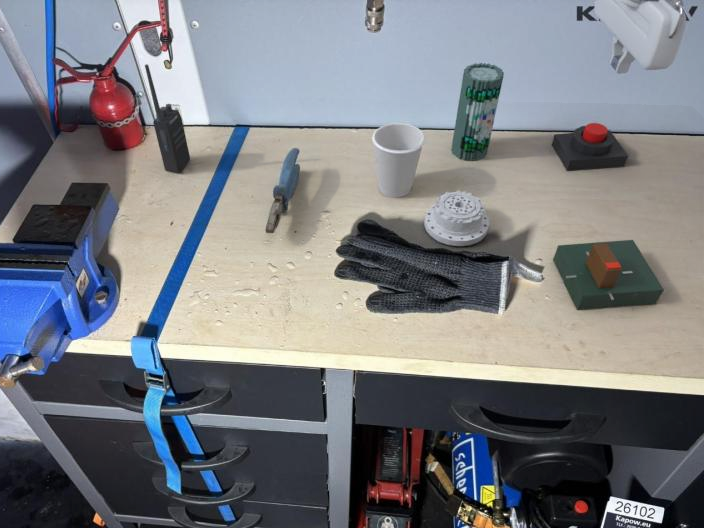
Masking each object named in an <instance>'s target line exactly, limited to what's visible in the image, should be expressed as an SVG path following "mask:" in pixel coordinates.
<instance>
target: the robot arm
mask: <svg viewBox="0 0 704 528" xmlns="http://www.w3.org/2000/svg"><path fill="white" fill-rule="evenodd" d="M594 14H595V16H596V17H597V18H598V19H599V20H600V22H601V23H602V24H603V25H604V26H605V27H606V28H607V30H609V32H610V33H611V34H612V35H613V37H612V40H611V41H612V45H611V46H612V47H611V58H610V61H609V65H610V66H611V68H612V69H613V70H614V71H615V72H616V73H617V74H618V75H620V74H626V73H628V72H629V70H630V67H631V65H632V63H633V62H634V61H636V62H637V63H638V65H640V66H641V68H643V69H644V70H645V71H657V70H665V69H668V68H669V67H671V66H672V65H673V63H674V62H675V59H676V57H677V54H678V51H679V48H680V46H681V42H682V39H683V36H684V34H685V33H684V32H685V30H686V24H687V16H686V13H685V11H684V1H683V0H595V1H594Z"/></svg>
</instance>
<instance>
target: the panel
mask: <svg viewBox="0 0 704 528" xmlns="http://www.w3.org/2000/svg"><path fill="white" fill-rule="evenodd" d="M598 244H608V246H609V247H610V249H611V251H612V253H613V254H614V256H615V258H616V260H617V261H618V262H619V264H620V266H621V268H622V271H621V273H620V275H619V277H618V279H617V281H616V283H615V285H614V287H612V288H599V287H598V285H597V283H596V282H595V280H594V278H593V276H592V274H591V272H590V270H589V268H588V266H587V264H586V261H587V258H588V256H589V254H590V251H591V249H592V247H593V245H598ZM552 261H553V263H554V266H555V267H556V270H557V271H558V274H559V275H560V278H561V280H562V282H563V284H564V286H565V288H566V291H567V293H568V295H569V297H570V299H571V301H572V303H573V305H574V307H575V309H576V310H577V311H583V310H597V309H609V308H622V307H623V308H624V307H637V306H648V305H649V306H650V305H651V306H652V305H656V304H657V303H658V301H659V299H660V298H661V296H662V295H663V292H664V291H665V288H664V286H662V284H661V282H660V281H659V278H658V277H657V275H656V274H655V272H654V271H653V270H652V268H651V266H650V265H649V263H648V261H647V260H646V258H645V256H644V254H643V253H642V252H641V250H640V249H639V247H638V245H637V243H636V241H635V240H634V239H625V240H612V241H598V242H585V243H583V242H582V243H572V244H571V243H570V244H558V245H557V247H556V250H555V252H554V256H553V258H552Z"/></svg>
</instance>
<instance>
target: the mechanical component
mask: <svg viewBox="0 0 704 528" xmlns="http://www.w3.org/2000/svg"><path fill="white" fill-rule="evenodd" d="M423 223H424V225H423V226H424V228H425V232H427V233H428V235H429V236H430V237H431V238H433V239H434V240H436V241H437V242H438V243H441V244H444V245H447V246H452V247H465V246H471V245H474V244H477V243H479V242H481V241H482V240H483V239H484V238H485V237H487V234H488V232H489V229H490V218H489V215H488V213H487V212H486V211H485V205H484V203H483V202H482V199H481V197H480V198H479V197H476V196H474V195H473V194H472V192H467V191H465V190H462V191H461V190H458V189H457V190H456V191H453V192H450V191H446V192H445V193H444V194H442V195H440V196H438V197H437V198H436V200H435V201H434V203H433V204H432V205H430V207H429V208H428V209H427V210H426V212H425V216H424V221H423Z"/></svg>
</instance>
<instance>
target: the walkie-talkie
mask: <svg viewBox="0 0 704 528" xmlns="http://www.w3.org/2000/svg"><path fill="white" fill-rule="evenodd" d="M144 68H145V73H146V77H147V81H148V85H149V90H150V94H151V99H152V102H153V107H154V111H155V116H156V117H155V119H154V120H153V122H152V123H153V124H152V125H153V128H154V132H155V135H156V140H157V144H158V147H159V152H160V155H161V160H162V164H163V168H164V171H168V172H172V173H177V174H180V173H181V172H182V171H183V170H184V169H185V167H187V165H188V164H189V163H190V162H191V155H190V151H189V150H190V149H189V146H188V142H187V137H186V132H185V127H184V121H183V118H182V115H181V113H180V111H179V110H178V109H173V108H172V104H171V103H166V104H165V106H160V103H159V100H158V96H157V92H156V89H155V85H154V81H153V77H152V73H151V70H150V67H149V64H148V63H147V64H144Z"/></svg>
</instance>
